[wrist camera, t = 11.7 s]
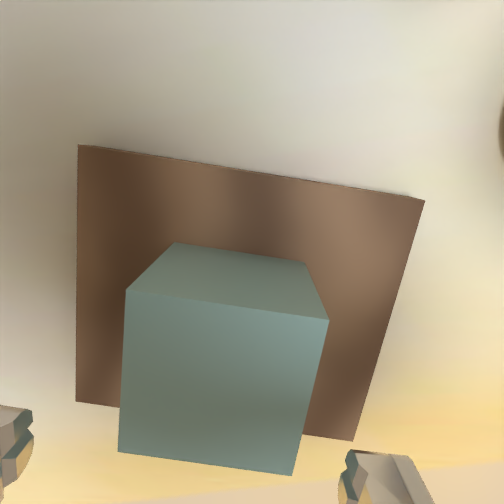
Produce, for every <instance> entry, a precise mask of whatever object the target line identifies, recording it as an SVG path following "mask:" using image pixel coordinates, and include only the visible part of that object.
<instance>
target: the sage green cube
mask: <svg viewBox="0 0 504 504" xmlns="http://www.w3.org/2000/svg"><path fill="white" fill-rule="evenodd" d="M328 324H329V318H328V315H327V313H326V311H325V309H324V306H323V304H322V302H321V299H320V297H319V295H318V292H317V290H316V288H315V285H314V283H313V281H312V278H311V276H310V274H309V272H308V269H307V267H306V265H305V262H301V261H294V260H288V259H281V258H275V257H268V256H261V255H255V254H248V253H242V252H235V251H229V250H222V249H216V248H209V247H203V246H196V245H190V244H183V243H177V242H174V243H173V244H172V245H171V246H170V247H169V248H168V249H167V250H166V251H165V252H164V253H163V254H162V255H161V256H160V257H159V258H158V259H157V260H156V261H155V262H154V263H153V264H152V265H150V266H149V267H148V268H147V269H146V270H145V271H144V272H143V273H142V274H141V275H140V276H139V277H138V278H137V279H136V280H135V281H134V282H133V283H132V284H131V285H130V286H129V287H128V288H127V289H126V298H125V318H124V337H123V357H122V377H121V396H120V416H119V436H118V452H123V453H130V454H137V455H144V456H151V457H158V458H166V459H173V460H180V461H187V462H194V463H201V464H208V465H216V466H223V467H230V468H237V469H244V470H251V471H258V472H266V473H273V474H280V475H287V476H292V473H293V469H294V465H295V461H296V457H297V453H298V448H299V444H300V440H301V436H302V432H303V428H304V424H305V419H306V415H307V411H308V407H309V403H310V399H311V395H312V391H313V386H314V382H315V378H316V374H317V370H318V366H319V362H320V357H321V353H322V349H323V345H324V341H325V337H326V333H327V329H328Z"/></svg>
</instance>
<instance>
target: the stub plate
mask: <svg viewBox="0 0 504 504" xmlns="http://www.w3.org/2000/svg"><path fill="white" fill-rule="evenodd" d="M424 203H425V200H421V199H417V198H413V197H408V196H402V195H396V194H390V193H383V192H377V191H371V190H365V189H359V188H352V187H346V186H340V185H334V184H328V183H321V182H315V181H309V180H303V179H297V178H290V177H284V176H278V175H272V174H266V173H259V172H253V171H247V170H241V169H235V168H228V167H222V166H216V165H210V164H204V163H197V162H191V161H185V160H179V159H173V158H166V157H160V156H154V155H148V154H142V153H135V152H129V151H123V150H117V149H111V148H104V147H98V146H90V145H78V183H77V298H76V401H77V402H83V403H90V404H97V405H104V406H111V407H118V408H120V396H121V377H122V357H123V337H124V318H125V298H126V289H127V288H128V287H129V286H130V285H131V284H132V283H133V282H134V281H135V280H136V279H137V278H138V277H139V276H140V275H141V274H142V273H143V272H144V271H145V270H146V269H147V268H148V267H149V266H150V265H152V264H153V263H154V262H155V261H156V260H157V259H158V258H159V257H160V256H161V255H162V254H163V253H164V252H165V251H166V250H167V249H168V248H169V247H170V246H171V245H172V244H173V243H174V242H177V243H183V244H190V245H196V246H203V247H209V248H216V249H222V250H229V251H235V252H242V253H248V254H255V255H261V256H268V257H275V258H281V259H288V260H294V261H301V262H305V265H306V267H307V269H308V272H309V274H310V276H311V278H312V281H313V283H314V285H315V288H316V290H317V292H318V295H319V297H320V299H321V302H322V304H323V306H324V309H325V311H326V313H327V315H328V318H329V324H328V329H327V333H326V337H325V341H324V345H323V349H322V353H321V357H320V362H319V366H318V370H317V374H316V378H315V382H314V386H313V391H312V395H311V399H310V403H309V407H308V411H307V415H306V419H305V424H304V428H303V432H302V434H304V435H311V436H318V437H325V438H332V439H339V440H346V441H353V439H354V436H355V433H356V429H357V426H358V423H359V419H360V416H361V413H362V409H363V406H364V403H365V399H366V396H367V393H368V389H369V386H370V383H371V379H372V376H373V373H374V369H375V366H376V363H377V359H378V356H379V353H380V349H381V346H382V343H383V339H384V336H385V333H386V329H387V326H388V323H389V319H390V316H391V313H392V309H393V306H394V303H395V300H396V296H397V293H398V290H399V286H400V283H401V280H402V276H403V273H404V270H405V266H406V263H407V260H408V256H409V253H410V250H411V246H412V243H413V240H414V236H415V233H416V230H417V226H418V223H419V220H420V216H421V213H422V210H423V206H424Z"/></svg>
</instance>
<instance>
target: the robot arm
mask: <svg viewBox="0 0 504 504" xmlns="http://www.w3.org/2000/svg"><path fill="white" fill-rule="evenodd" d="M32 422H33V419H32V411H30V410H28V409H23V408H16V407H10V406H3V405H0V502H1V501H2V500H3V498H4V487H6V486H7V485H9V484H11V483H12V482H14V481H15V480H17V479H18V477H19V476H20V475H21V473H22V472H23V470H24V469H25V467H26V465H27V463H28V461H29V459H30V457H31V454H32V450H33V445H34V436H33V435H32V433H31V432H30V431H29V430H28V429H27V428H28V427H29V426H30V424H31V423H32ZM345 462H346V465H347V469H346V470H345V471H344V472H343V473H341V476H340V480H339V484H338V500H339V504H435V503H434V501H433V499H432V497H431V495H430V493H429V492H428V490H427V488H426V486H425V484H424V482H423V480H422V478H421V476H420V474H419V472H418V471H417V469H416V467H415V465H414V463H413V461H412V460H411V459H410V458H409V457H408V456H404V455H395V454H386V453H378V452H370V451H361V450H352V449H350V451H349V452H348V453H347V456H346V459H345Z"/></svg>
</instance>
